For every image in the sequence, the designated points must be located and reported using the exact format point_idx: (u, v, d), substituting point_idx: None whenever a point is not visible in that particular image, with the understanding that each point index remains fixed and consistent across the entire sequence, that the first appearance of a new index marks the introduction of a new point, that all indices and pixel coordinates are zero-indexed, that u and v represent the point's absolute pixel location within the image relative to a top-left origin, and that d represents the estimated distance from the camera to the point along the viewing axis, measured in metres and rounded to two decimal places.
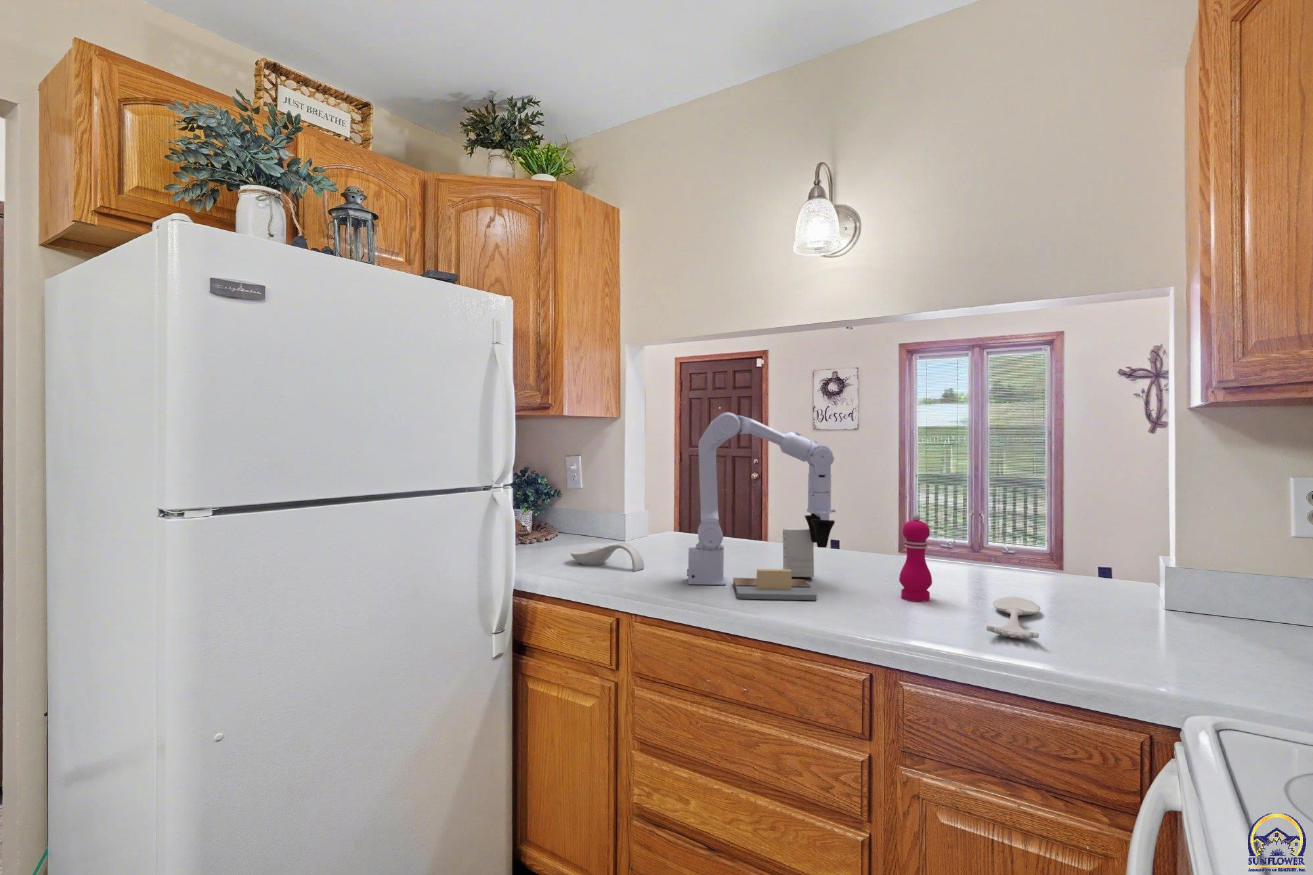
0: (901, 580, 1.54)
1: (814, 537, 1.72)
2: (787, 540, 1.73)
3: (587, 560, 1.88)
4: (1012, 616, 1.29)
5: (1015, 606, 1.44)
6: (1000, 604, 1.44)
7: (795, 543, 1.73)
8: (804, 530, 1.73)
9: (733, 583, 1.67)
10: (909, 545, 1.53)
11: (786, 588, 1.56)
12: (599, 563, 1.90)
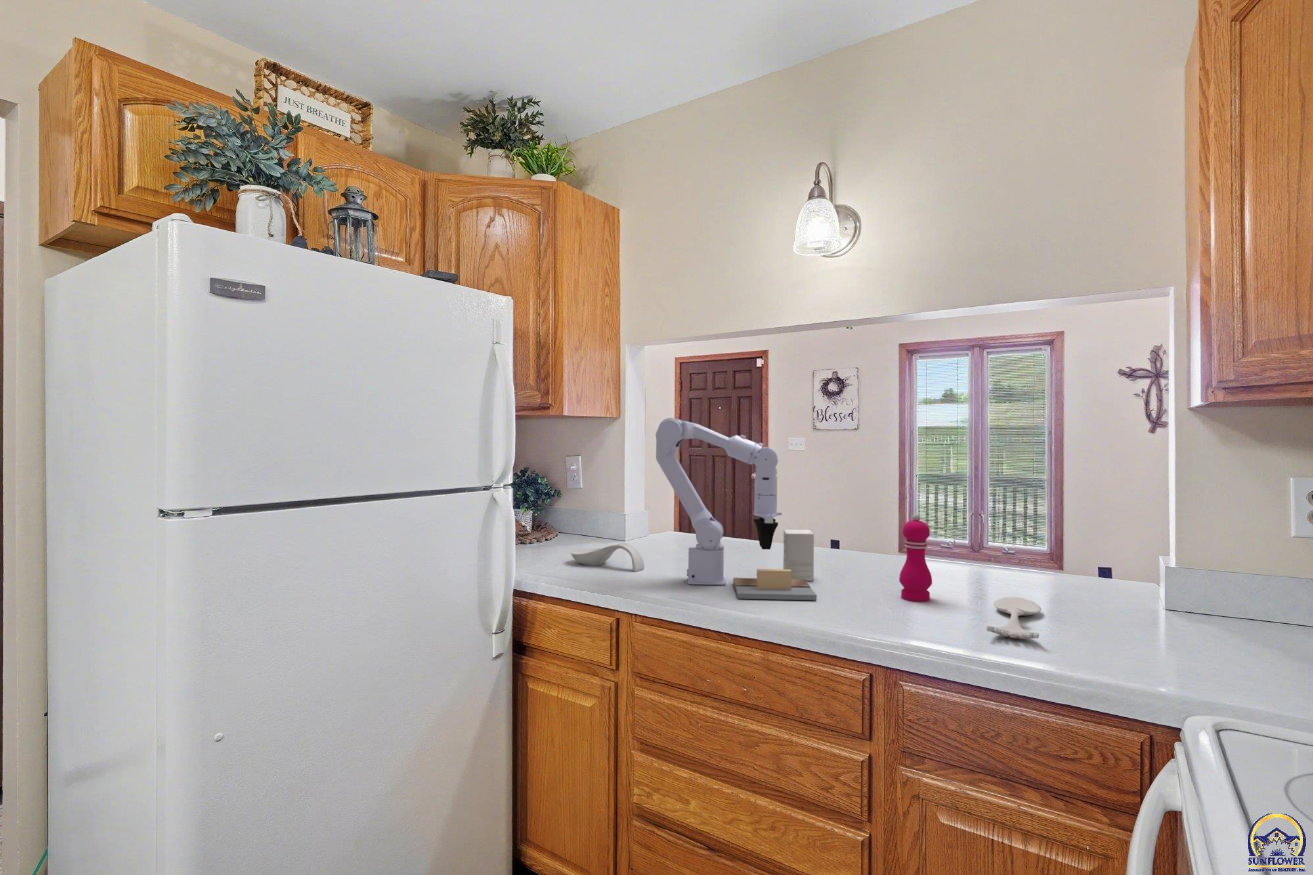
0: (901, 580, 1.54)
1: None
2: (787, 544, 1.72)
3: (587, 560, 1.88)
4: (1012, 616, 1.29)
5: (1016, 606, 1.44)
6: (1001, 604, 1.44)
7: (796, 547, 1.72)
8: (805, 534, 1.72)
9: (733, 583, 1.67)
10: (909, 545, 1.53)
11: (786, 588, 1.56)
12: (599, 563, 1.90)
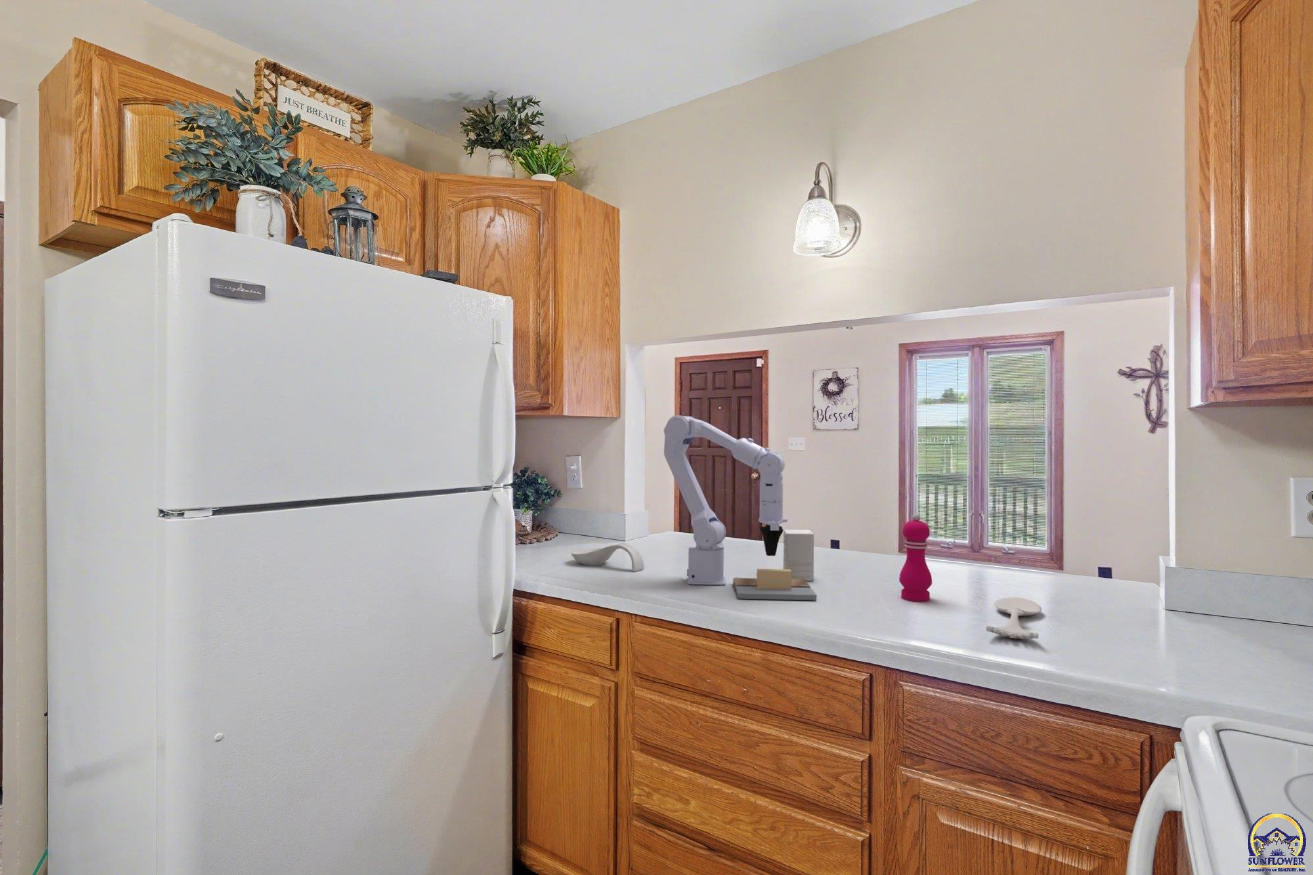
0: (901, 580, 1.54)
1: None
2: (787, 544, 1.72)
3: (587, 560, 1.88)
4: (1012, 616, 1.29)
5: (1016, 606, 1.44)
6: (1001, 604, 1.44)
7: (796, 547, 1.72)
8: (805, 534, 1.72)
9: (733, 583, 1.67)
10: (909, 545, 1.53)
11: (786, 588, 1.56)
12: (599, 563, 1.90)
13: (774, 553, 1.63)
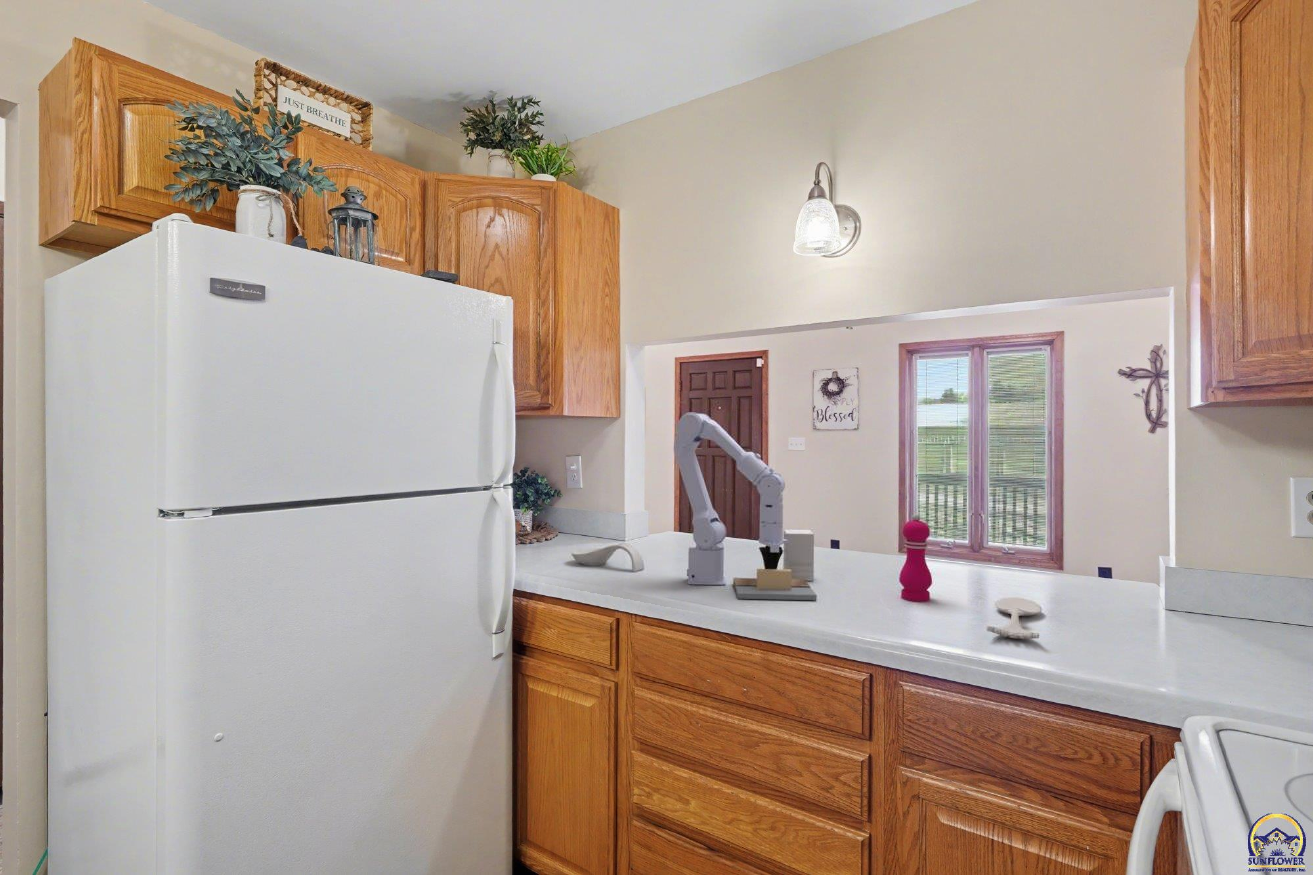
0: (901, 580, 1.54)
1: None
2: (787, 544, 1.72)
3: (587, 560, 1.88)
4: (1013, 616, 1.29)
5: (1016, 607, 1.44)
6: (1001, 605, 1.44)
7: (796, 547, 1.72)
8: (805, 534, 1.72)
9: (733, 583, 1.67)
10: (909, 545, 1.53)
11: (786, 588, 1.56)
12: (600, 563, 1.90)
13: None
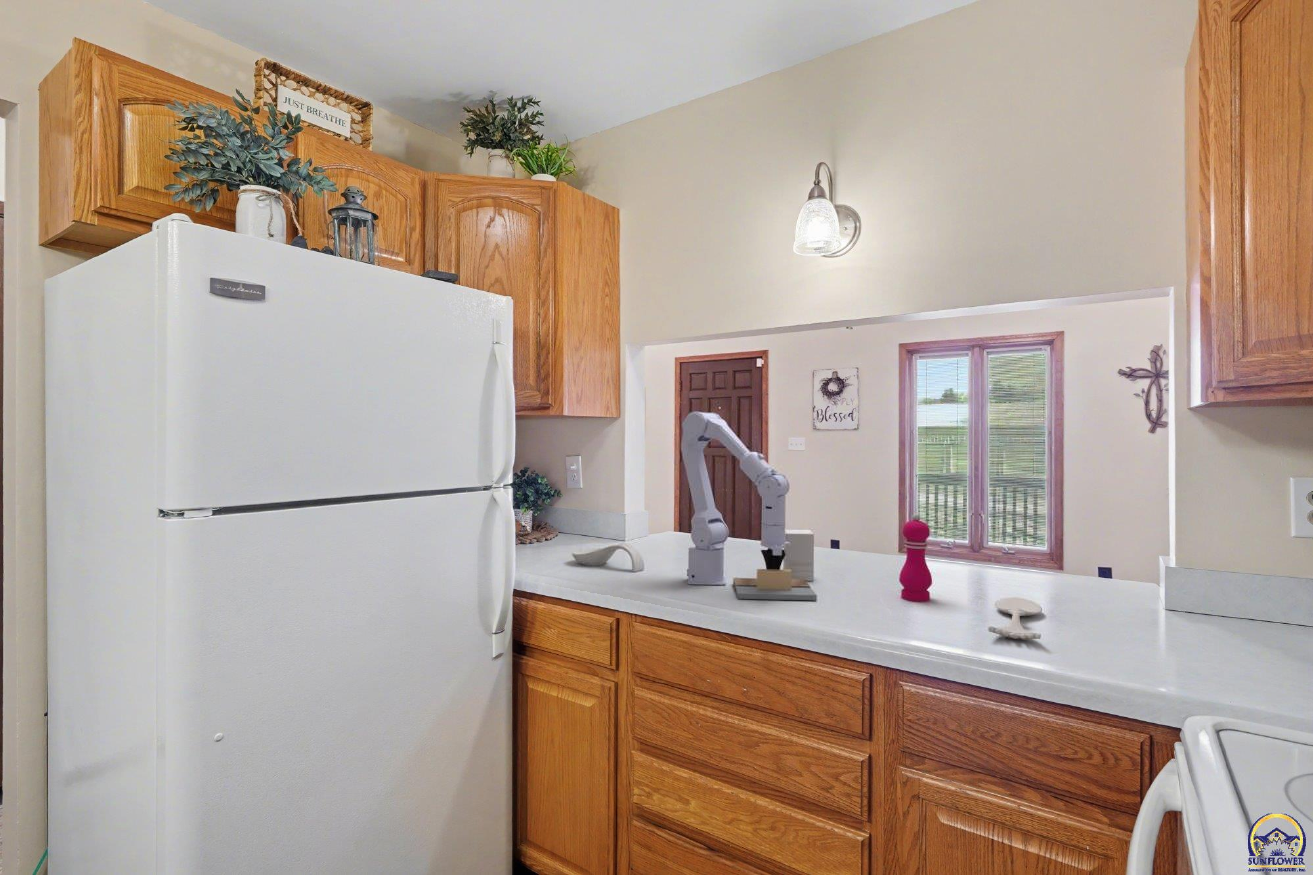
0: (901, 580, 1.54)
1: None
2: None
3: (588, 560, 1.87)
4: (1014, 617, 1.29)
5: (1017, 607, 1.44)
6: (1002, 605, 1.44)
7: (796, 547, 1.72)
8: (805, 534, 1.72)
9: (733, 583, 1.67)
10: (909, 545, 1.53)
11: (786, 588, 1.56)
12: (600, 563, 1.89)
13: None
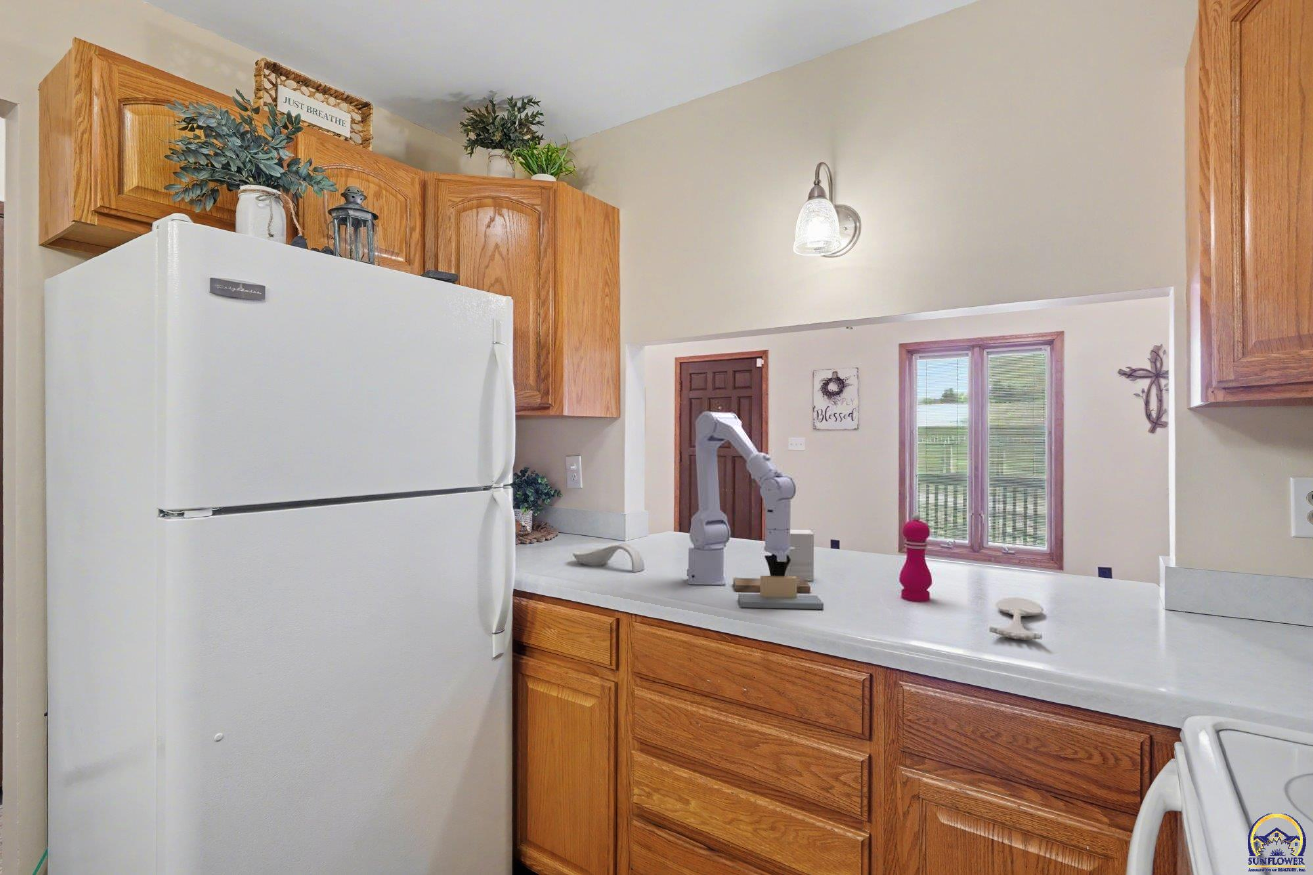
0: (901, 580, 1.54)
1: None
2: None
3: (588, 560, 1.87)
4: (1015, 617, 1.29)
5: (1018, 607, 1.43)
6: (1003, 605, 1.44)
7: (796, 547, 1.72)
8: (805, 534, 1.72)
9: (733, 583, 1.67)
10: (909, 545, 1.53)
11: (791, 596, 1.48)
12: (600, 564, 1.89)
13: None
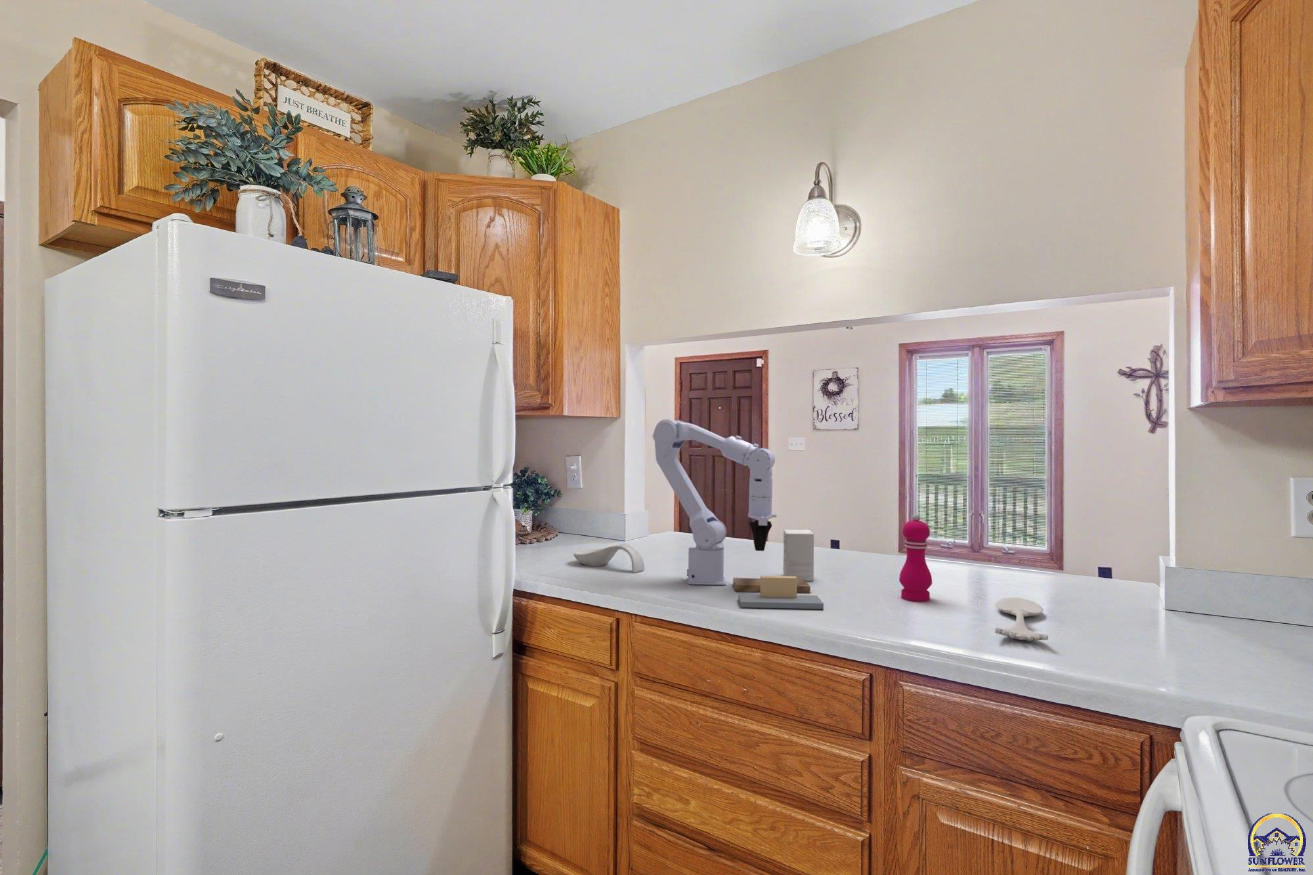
0: (901, 580, 1.54)
1: None
2: (787, 544, 1.72)
3: (588, 561, 1.87)
4: (1018, 618, 1.28)
5: (1017, 607, 1.43)
6: (1002, 605, 1.44)
7: (796, 547, 1.72)
8: (805, 534, 1.72)
9: (733, 583, 1.67)
10: (909, 545, 1.53)
11: (791, 596, 1.48)
12: (601, 564, 1.89)
13: (763, 548, 1.63)
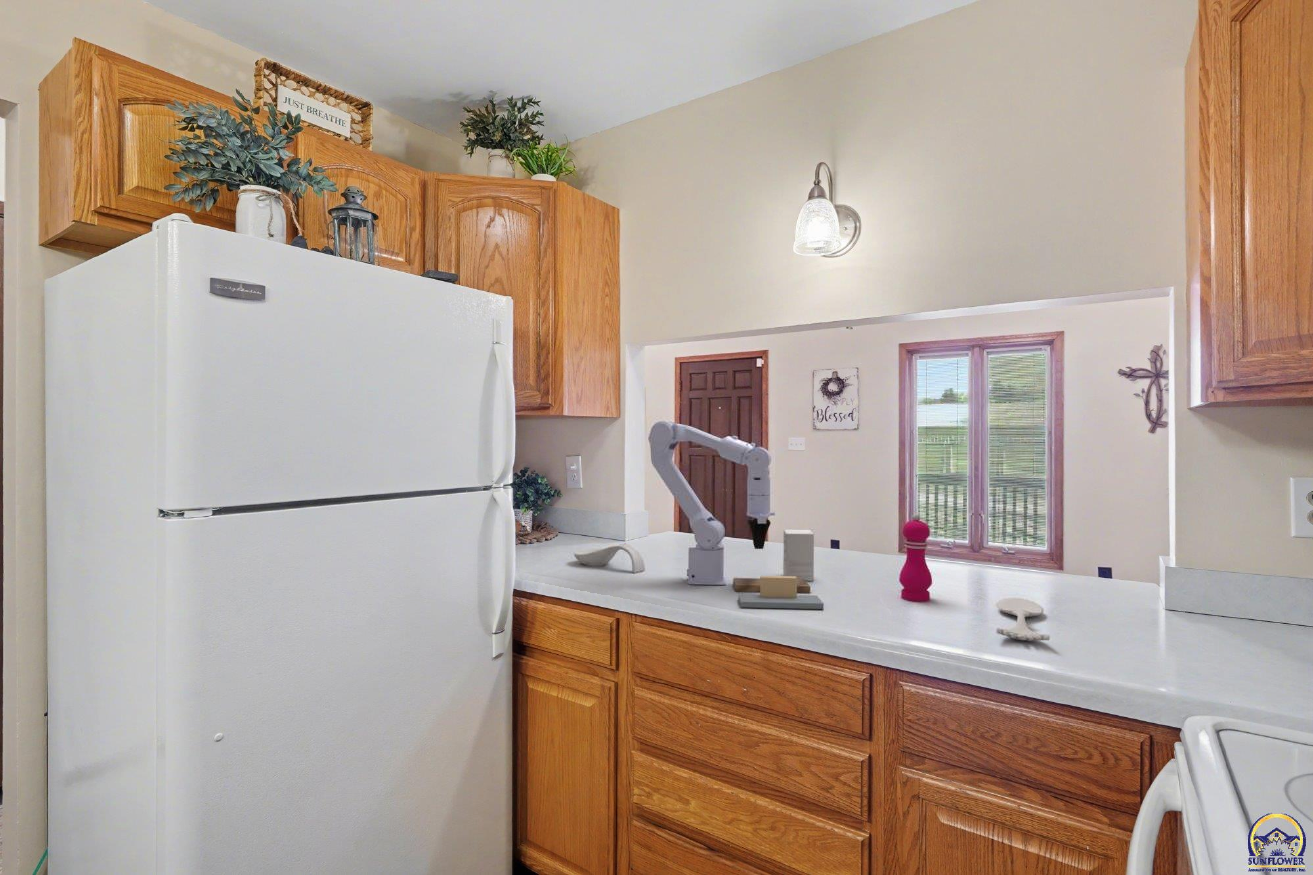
0: (901, 580, 1.54)
1: None
2: (787, 544, 1.72)
3: (589, 561, 1.87)
4: (1019, 618, 1.28)
5: (1018, 607, 1.43)
6: (1003, 605, 1.43)
7: (796, 547, 1.72)
8: (805, 534, 1.72)
9: (733, 583, 1.67)
10: (909, 545, 1.53)
11: (791, 596, 1.48)
12: (601, 564, 1.89)
13: (762, 546, 1.65)
